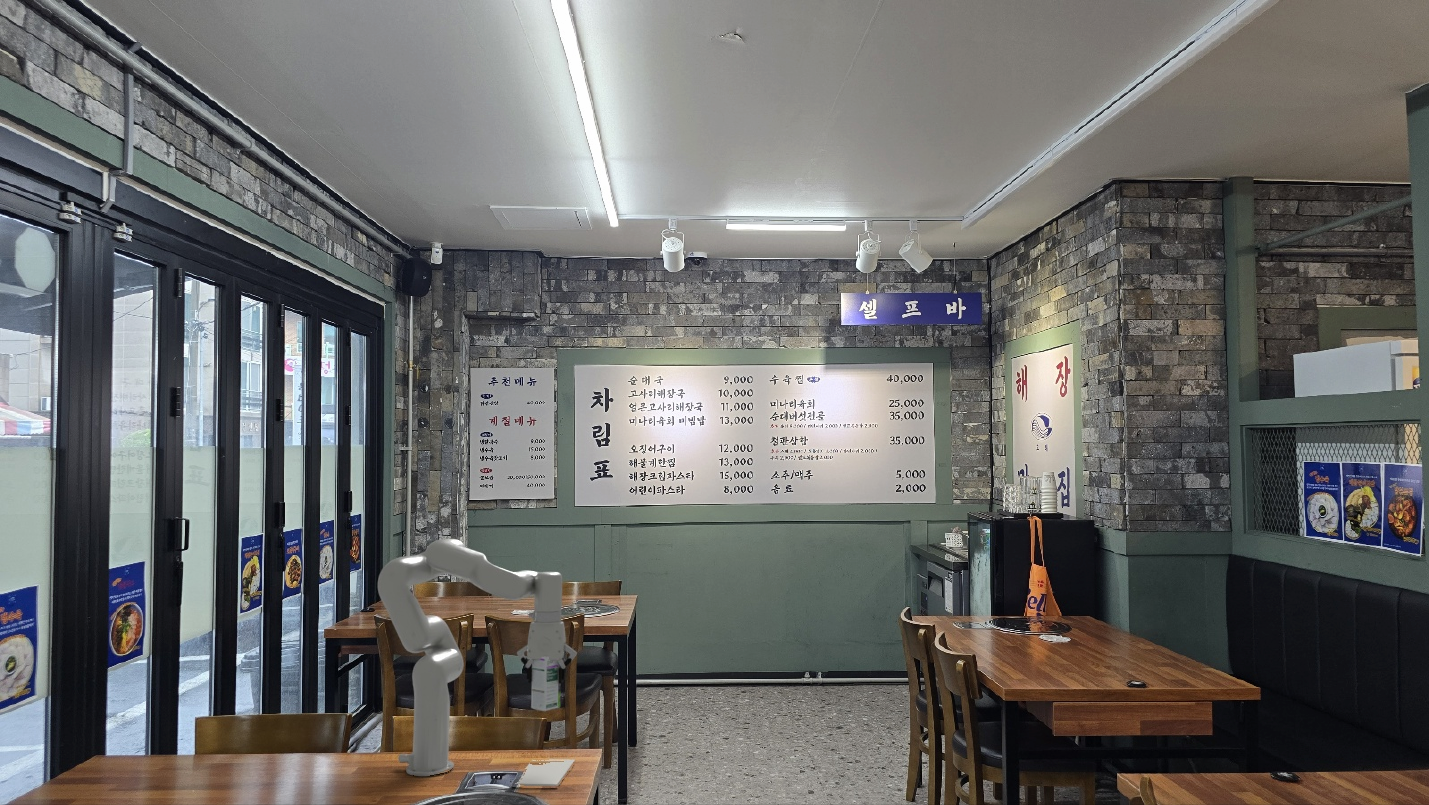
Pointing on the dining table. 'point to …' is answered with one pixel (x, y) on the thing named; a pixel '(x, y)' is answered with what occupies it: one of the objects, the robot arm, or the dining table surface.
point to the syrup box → (545, 684)
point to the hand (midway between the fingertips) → (546, 682)
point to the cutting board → (546, 773)
